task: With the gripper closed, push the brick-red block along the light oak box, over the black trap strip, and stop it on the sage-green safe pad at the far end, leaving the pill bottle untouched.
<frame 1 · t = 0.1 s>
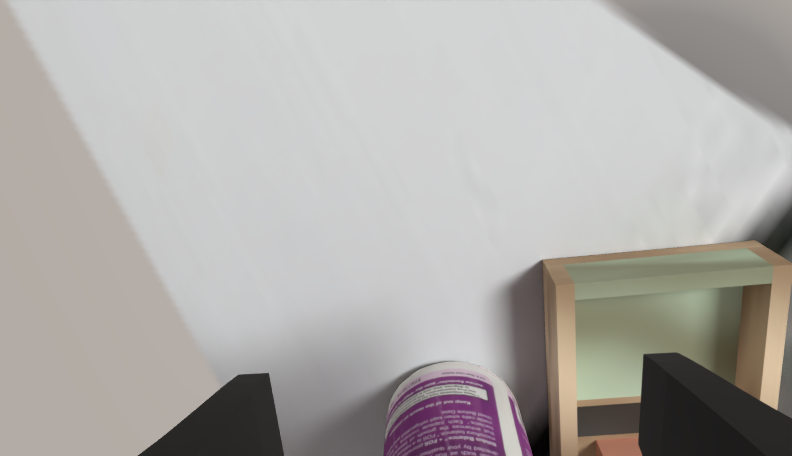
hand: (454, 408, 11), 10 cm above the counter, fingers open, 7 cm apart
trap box: (642, 434, 23), on the counter
pill bottle: (452, 410, 23), on the counter
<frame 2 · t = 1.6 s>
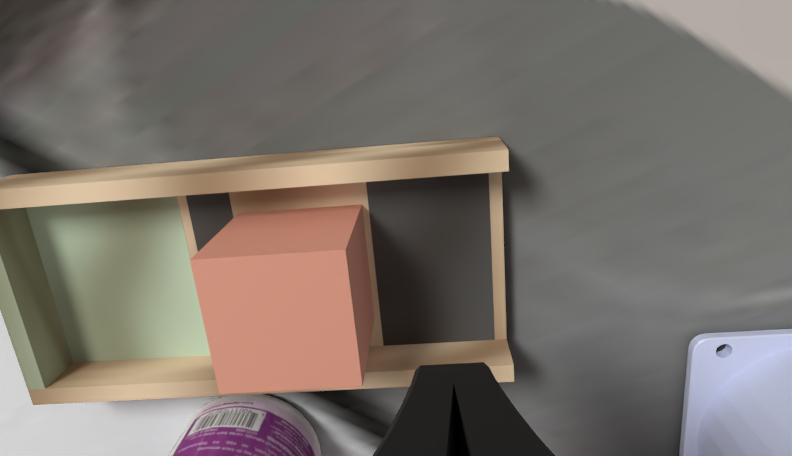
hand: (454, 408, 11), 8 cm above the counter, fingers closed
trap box: (265, 262, 19), on the counter
pill bottle: (258, 441, 22), on the counter
red block: (308, 266, 19), point 1 cm above the counter, touching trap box
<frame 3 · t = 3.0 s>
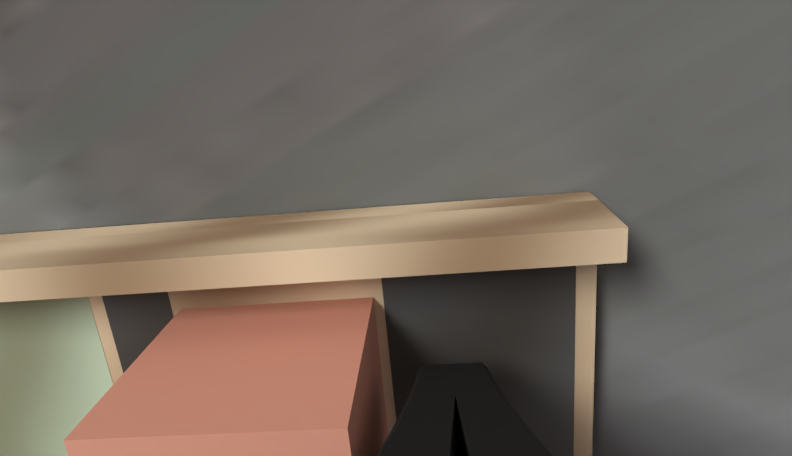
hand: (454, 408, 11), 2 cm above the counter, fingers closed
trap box: (227, 374, 13), on the counter
red block: (290, 387, 12), point 1 cm above the counter, touching gripper, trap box
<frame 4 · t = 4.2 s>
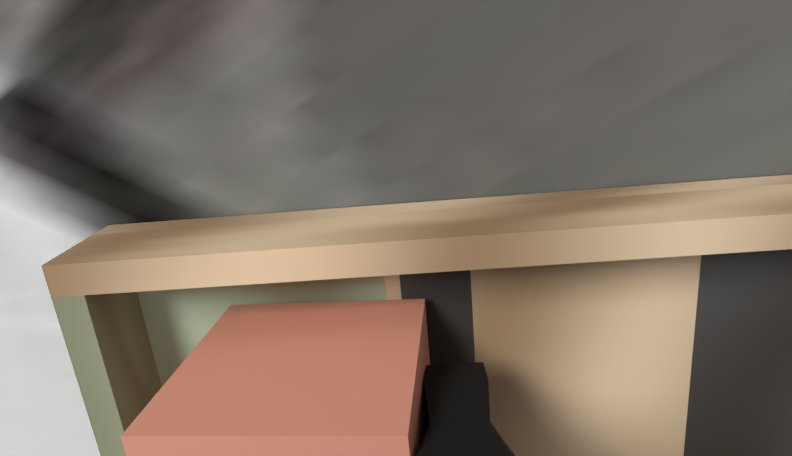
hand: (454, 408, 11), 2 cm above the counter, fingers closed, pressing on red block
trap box: (500, 358, 12), on the counter
red block: (337, 387, 12), point 1 cm above the counter, touching gripper, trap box
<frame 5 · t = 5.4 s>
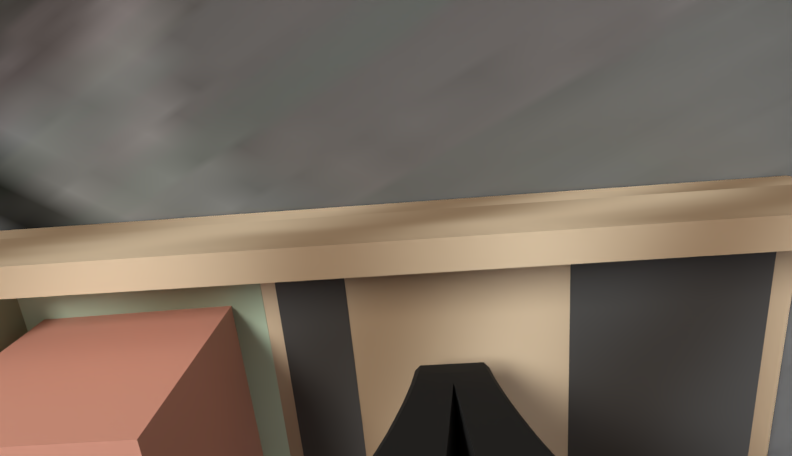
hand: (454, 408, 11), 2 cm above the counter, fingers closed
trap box: (387, 365, 12), on the counter
red block: (159, 395, 12), point 1 cm above the counter, touching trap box
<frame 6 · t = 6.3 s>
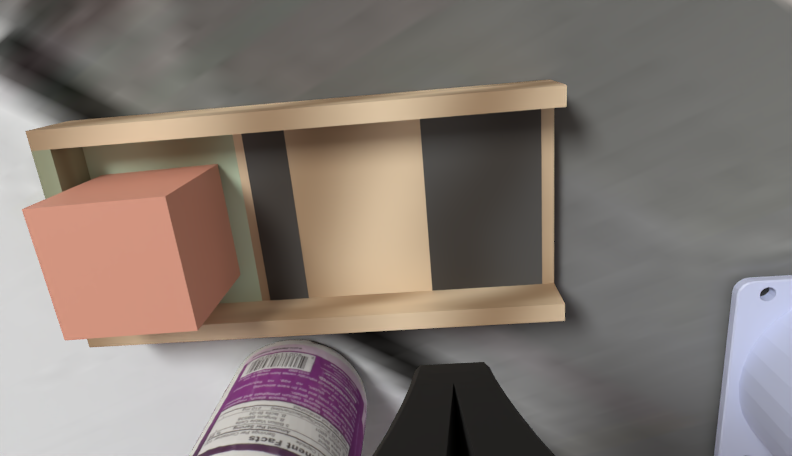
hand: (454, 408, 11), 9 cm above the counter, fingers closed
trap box: (317, 208, 20), on the counter
pill bottle: (303, 390, 22), on the counter
red block: (173, 226, 19), point 1 cm above the counter, touching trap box
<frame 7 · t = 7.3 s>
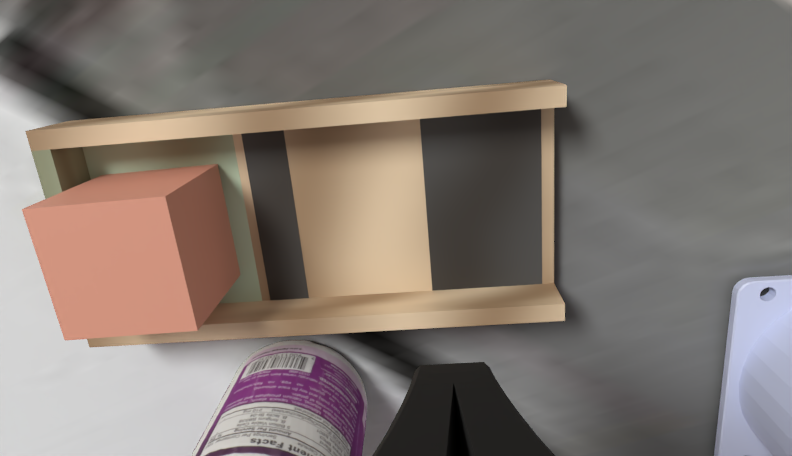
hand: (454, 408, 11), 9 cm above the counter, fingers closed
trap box: (317, 208, 20), on the counter
pill bottle: (303, 390, 22), on the counter
red block: (173, 226, 19), point 1 cm above the counter, touching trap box
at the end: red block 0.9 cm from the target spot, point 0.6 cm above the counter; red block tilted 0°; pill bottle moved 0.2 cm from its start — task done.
